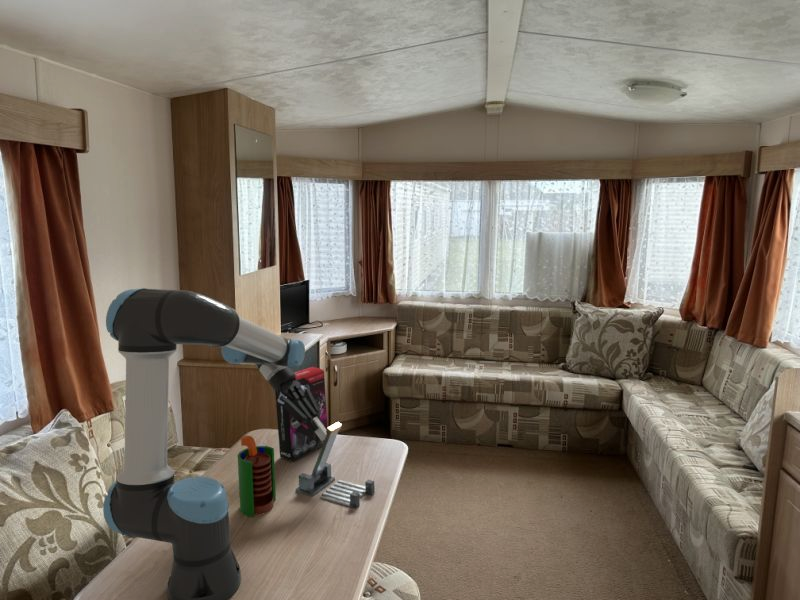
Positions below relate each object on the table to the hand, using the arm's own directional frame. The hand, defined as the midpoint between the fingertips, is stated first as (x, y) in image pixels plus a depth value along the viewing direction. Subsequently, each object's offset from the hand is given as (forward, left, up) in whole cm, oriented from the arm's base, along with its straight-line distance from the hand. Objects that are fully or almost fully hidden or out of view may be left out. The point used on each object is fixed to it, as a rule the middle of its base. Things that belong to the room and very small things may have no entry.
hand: (325, 437), depth 161 cm
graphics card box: (+17, +22, -16) cm, 32 cm away
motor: (-17, +11, -16) cm, 26 cm away
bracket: (0, -3, -16) cm, 16 cm away
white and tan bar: (0, +5, -14) cm, 15 cm away
